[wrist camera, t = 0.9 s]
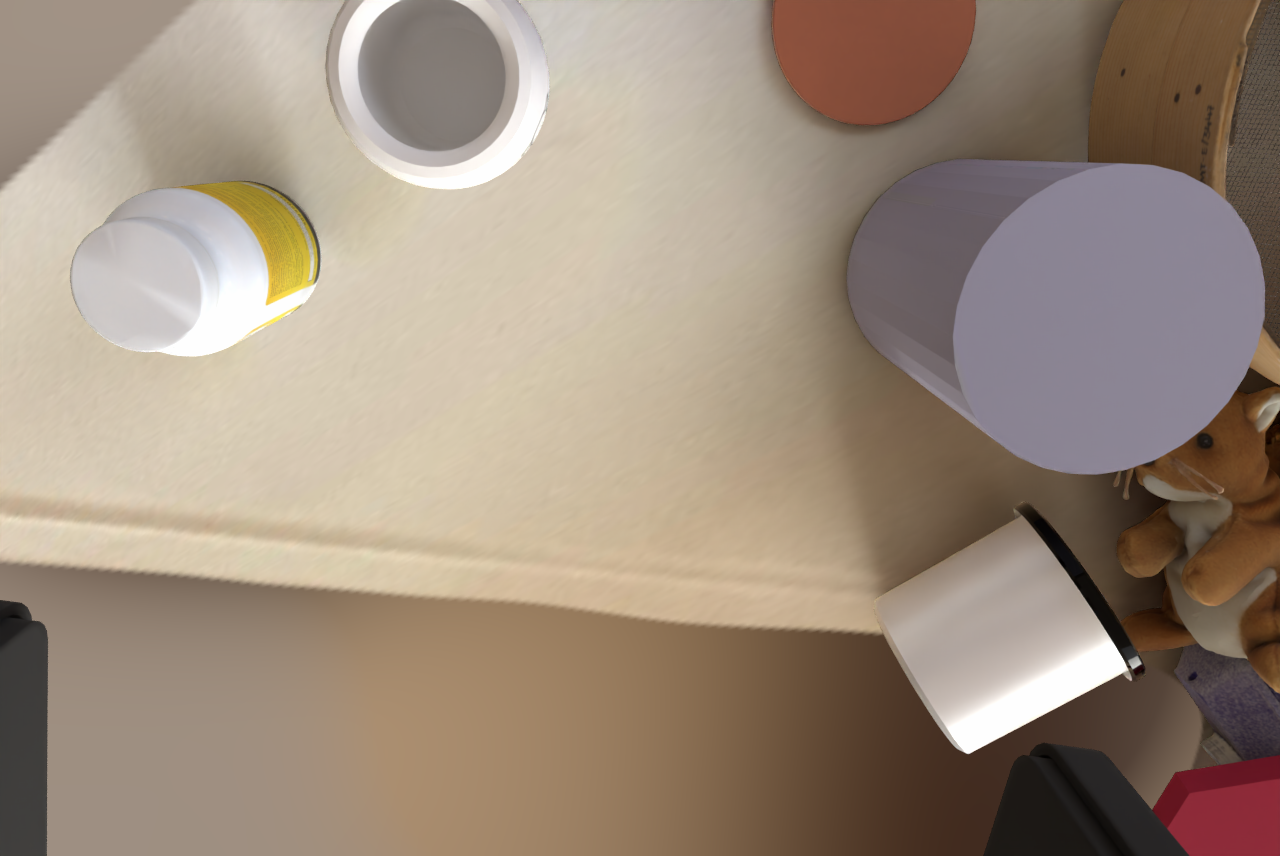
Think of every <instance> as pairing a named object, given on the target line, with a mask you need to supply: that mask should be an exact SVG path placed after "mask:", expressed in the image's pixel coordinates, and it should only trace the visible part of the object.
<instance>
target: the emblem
mask: <svg viewBox="0 0 1280 856" xmlns="http://www.w3.org/2000/svg"><path fill="white" fill-rule="evenodd" d="M1152 811H1153V812H1154V813H1155V815H1156V816H1157V817H1158V818H1159V819H1160V821H1161V822H1162V823H1163V824H1164V825H1165V827H1166V828H1167V829H1168V830H1169V831H1170V833H1171V834H1172V835H1173V836H1174V838H1175V839H1176V840H1177V841H1178V842H1179V844H1180V845H1181V846H1182V847H1183V848H1184V850H1185V851H1186V852H1187V853H1188V854H1189V856H1280V755H1277V756H1271V757H1265V758H1259V759H1253V760H1247V761H1241V762H1235V763H1229V764H1223V765H1217V766H1211V767H1205V768H1199V769H1193V770H1187V771H1181V772H1176V773H1175V774H1174V776H1173V777H1172V779H1171V780H1170V782H1169V784H1168V785H1167V787H1166V788H1165V790H1164V792H1163V793H1162V795H1161V797H1160V798H1159V800H1158V801H1157V803H1156V805H1155V806H1154V808H1153V810H1152Z"/></svg>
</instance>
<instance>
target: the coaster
mask: <svg viewBox="0 0 1280 856" xmlns="http://www.w3.org/2000/svg"><path fill="white" fill-rule="evenodd" d="M975 15H976V1H975V0H774V2H773V8H772V21H771V27H772V40H773V45H774V50H775V54H776V57H777V60H778V63H779V66H780V68H781V70H782V72H783V74H784V76H785V78H786V80H787V81H788V83H789V84H790V86H791V87H792V89H793V90H794V91H795V92H796V93H797V95H798V96H799V97H800V98H801V99H802V100H803V101H804V102H805V103H807V104H808V105H809V106H810V107H811V108H813V109H814V110H816V111H817V112H819V113H820V114H822V115H824V116H826V117H828V118H831V119H833V120H836V121H839V122H842V123H846V124H852V125H867V126H871V125H880V124H887V123H890V122H894V121H898V120H901V119H903V118H905V117H908V116H910V115H912V114H914V113H916V112H917V111H919V110H921V109H923V108H924V107H925V106H927V105H928V104H929V103H931V102H932V101H933V100H934V99H935V98H937V97H938V96H939V95H940V94H941V93H942V92H943V91H944V90H945V88H946V87H947V86H948V85H949V84H950V82H951V81H952V80H953V78H954V77H955V75H956V74H957V72H958V70H959V69H960V67H961V65H962V63H963V61H964V59H965V57H966V55H967V52H968V49H969V46H970V43H971V40H972V35H973V31H974V25H975Z"/></svg>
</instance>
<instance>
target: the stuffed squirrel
mask: <svg viewBox="0 0 1280 856" xmlns="http://www.w3.org/2000/svg"><path fill="white" fill-rule="evenodd" d="M1279 410H1280V388H1279V387H1269V388H1266V389H1264V390H1262V391H1259V392H1255V393H1252V394H1247V393H1243V392H1240V391H1238V390H1236V391H1235V392H1234V394H1233V395H1232V397H1231V399H1230V400H1229V402H1228V403H1227V404H1226V405H1225V406H1224V407H1223V408H1222V409H1221V411H1220V412H1219V413H1218V414H1217V415H1216V416H1215V417H1214V418H1213V419H1212V421H1211V422H1210V423H1209V424H1208V425H1207V426H1206V427H1204V428H1203V429H1202V430H1201V431H1199V432H1198V433H1197V434H1196V435H1194V436H1193V437H1192V438H1190V439H1189V440H1188V441H1187V442H1185V443H1184V444H1183V445H1181V446H1179V447H1177V448H1176V449H1174V450H1172V451H1170V452H1168V453H1167V454H1165V455H1163V456H1161V457H1159V458H1158V459H1156V460H1153V461H1150V462H1147V463H1144V464H1141V465H1139V466H1136V467H1133V468H1130V469H1128V470H1127V475H1126V482H1125V490H1124V493H1123V498H1124V499H1125V500H1127V499H1129V493H1128V491H1129V483H1130V480H1131V479H1132V476H1133V470H1134V469H1135V471H1136V476H1137V480H1138V482H1139V484H1140V485H1142V486H1145V488H1146V489H1147V490H1148V491H1149V492H1151V493H1153V494H1154V495H1156V496H1159V497H1162V498H1165V499H1168V500H1167V501H1166V503H1165V504H1164V505H1163V506H1162V507H1161V508H1159V509H1157V510H1156V511H1155V512H1154V513H1153V514H1152V515H1150V516H1149V517H1148V518H1147V519H1145V520H1144V521H1142V522H1141V523H1139V524H1138V525H1136V526H1133V527H1131V528H1129V529H1127V530H1125V531H1123V532H1122V533H1121V535H1120V537H1119V539H1118V542H1117V547H1116V551H1117V558H1118V560H1119V562H1120V564H1121V566H1122V567H1123V569H1124V570H1125V571H1126V572H1127V573H1129V574H1131V575H1132V576H1134V577H1137V578H1142V577H1149V576H1151V577H1152V576H1154V575H1156V574H1158V573H1159V572H1160V571H1161V570H1162V569H1163V568H1164V574H1165V579H1166V582H1167V586H1166V589H1165V591H1164V593H1163V600H1162V607H1161V608H1152V609H1147V610H1142V611H1138V612H1135V613H1133V614H1131V615H1129V616H1127V617H1126V618H1124V619H1123V620H1122V621H1121V622H1120V623H1121V624H1122V626H1123V627H1124V629H1125V631H1126V632H1127V634H1128V636H1129V637H1130V639H1131V641H1132V643H1133V644H1134V646H1135V648H1136V649H1137V651H1141V652H1143V651H1158V650H1166V649H1172V648H1178V647H1183V646H1189V645H1193V644H1197V643H1199V644H1200V645H1201V646H1202V647H1203V648H1205V649H1206V650H1209V651H1213V652H1215V653H1217V654H1221V655H1224V656H1230V657H1236V658H1248V660H1249V662H1250V664H1251V666H1252V668H1253V669H1254V670H1255V671H1256V672H1257V674H1258V675H1259V676H1260V677H1261V678H1262V679H1263V680H1264V681H1265V682H1266V683H1267V684H1268V685H1269V686H1270V687H1272V688H1273V689H1274V691H1276V692H1277V693H1279V694H1280V424H1279V425H1278V424H1277V425H1274V426H1273V427H1272V429H1269V430H1268V431H1266V430H1267V429H1268V428H1269V427H1270V425H1271V424H1272V422H1273V421H1274V420H1275V417H1276V415H1277V413H1278V412H1279ZM1122 471H1123V470H1122ZM1122 471H1118V473H1117V476H1116V479H1115V481H1114V483H1113V486H1115V487H1116V486H1118V485H1119V482H1120V477H1121V473H1122Z"/></svg>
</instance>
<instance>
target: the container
mask: <svg viewBox="0 0 1280 856" xmlns="http://www.w3.org/2000/svg"><path fill="white" fill-rule="evenodd" d="M847 287H848V296H849V302H850V305H851V308H852V311H853V315H854V318H855V320H856V322H857V324H858V326H859V328H860V329H861V331H862V333H863V335H864V337H865V338H866V339H867V340H868V341H869V342H870V344H871V345H872V346H873V347H874V348H875V349H876V351H877V352H879V353H880V354H881V355H882V356H884V357H885V358H886V359H888V360H889V361H890V362H892V363H893V364H894V365H896V366H897V367H898V368H900V369H901V370H902V371H904V372H905V373H906V374H908V375H909V376H910V377H912V378H913V379H914V380H916V381H917V382H918V383H919V384H921V385H922V386H923V387H925V388H926V389H927V390H929V391H930V392H931V393H933V394H934V395H935V396H937V397H938V398H939V399H941V400H942V401H943V402H945V403H946V404H947V405H949V406H950V407H951V408H953V409H954V410H955V411H956V412H958V413H959V414H960V415H962V416H963V417H964V418H966V419H967V420H968V421H970V422H971V423H972V424H974V425H975V426H976V427H978V428H979V429H980V430H982V431H983V432H984V433H986V434H987V435H988V436H990V437H991V438H992V439H994V440H995V441H996V442H998V443H999V444H1000V445H1002V446H1003V447H1004V448H1006V449H1007V450H1008V451H1010V452H1011V453H1012V454H1014V455H1015V456H1017V457H1019V458H1021V459H1024V460H1026V461H1028V462H1030V463H1032V464H1035V465H1037V466H1039V467H1041V468H1046V469H1050V470H1055V471H1059V472H1064V473H1068V474H1094V475H1098V474H1104V473H1110V472H1116V471H1122V470H1127V469H1130V468H1133V467H1136V466H1139V465H1141V464H1144V463H1147V462H1150V461H1153V460H1156V459H1158V458H1159V457H1161V456H1163V455H1165V454H1167V453H1168V452H1170V451H1172V450H1174V449H1176V448H1177V447H1179V446H1181V445H1183V444H1184V443H1185V442H1187V441H1188V440H1189V439H1190V438H1192V437H1193V436H1194V435H1196V434H1197V433H1198V432H1199V431H1201V430H1202V429H1203V428H1204V427H1206V426H1207V425H1208V424H1209V423H1210V422H1211V421H1212V419H1213V418H1214V417H1215V416H1216V415H1217V414H1218V413H1219V412H1220V411H1221V409H1222V408H1223V407H1224V406H1225V405H1226V404H1227V403H1228V402H1229V400H1230V399H1231V397H1232V395H1233V394H1234V392H1235V391H1236V389H1237V388H1238V386H1239V384H1240V383H1241V381H1242V380H1243V378H1244V377H1245V375H1246V373H1247V370H1248V368H1249V365H1250V363H1251V361H1252V358H1253V356H1254V353H1255V351H1256V349H1257V346H1258V342H1259V338H1260V334H1261V329H1262V325H1263V321H1264V316H1265V283H1264V277H1263V272H1262V266H1261V260H1260V256H1259V253H1258V251H1257V248H1256V246H1255V244H1254V241H1253V239H1252V236H1251V234H1250V232H1249V229H1248V228H1247V226H1246V225H1245V224H1244V222H1243V221H1242V219H1241V218H1240V217H1239V215H1238V214H1237V212H1236V211H1235V210H1234V208H1233V207H1232V205H1230V204H1229V203H1228V202H1227V201H1226V200H1225V199H1223V198H1222V197H1221V196H1220V195H1219V194H1218V193H1216V192H1215V191H1214V190H1213V189H1212V188H1211V187H1209V186H1208V185H1206V184H1204V183H1202V182H1200V181H1198V180H1196V179H1194V178H1192V177H1190V176H1188V175H1186V174H1184V173H1182V172H1178V171H1174V170H1170V169H1166V168H1163V167H1159V166H1155V165H1142V164H1122V163H1087V162H1051V161H1015V160H979V159H955V160H949V161H944V162H938V163H935V164H932V165H929V166H926V167H924V168H921V169H918V170H916V171H914V172H912V173H911V174H909V175H907V176H906V177H904V178H903V179H901V180H899V181H898V182H896V183H895V184H894V185H893V186H891V187H890V188H889V189H888V190H887V191H886V192H885V193H884V194H883V195H881V196H880V197H879V198H878V200H877V201H876V202H875V204H874V205H873V206H872V208H871V209H870V210H869V211H868V213H867V214H866V215H865V217H864V219H863V221H862V223H861V225H860V227H859V229H858V231H857V233H856V235H855V238H854V241H853V245H852V248H851V251H850V255H849V260H848V270H847Z"/></svg>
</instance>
